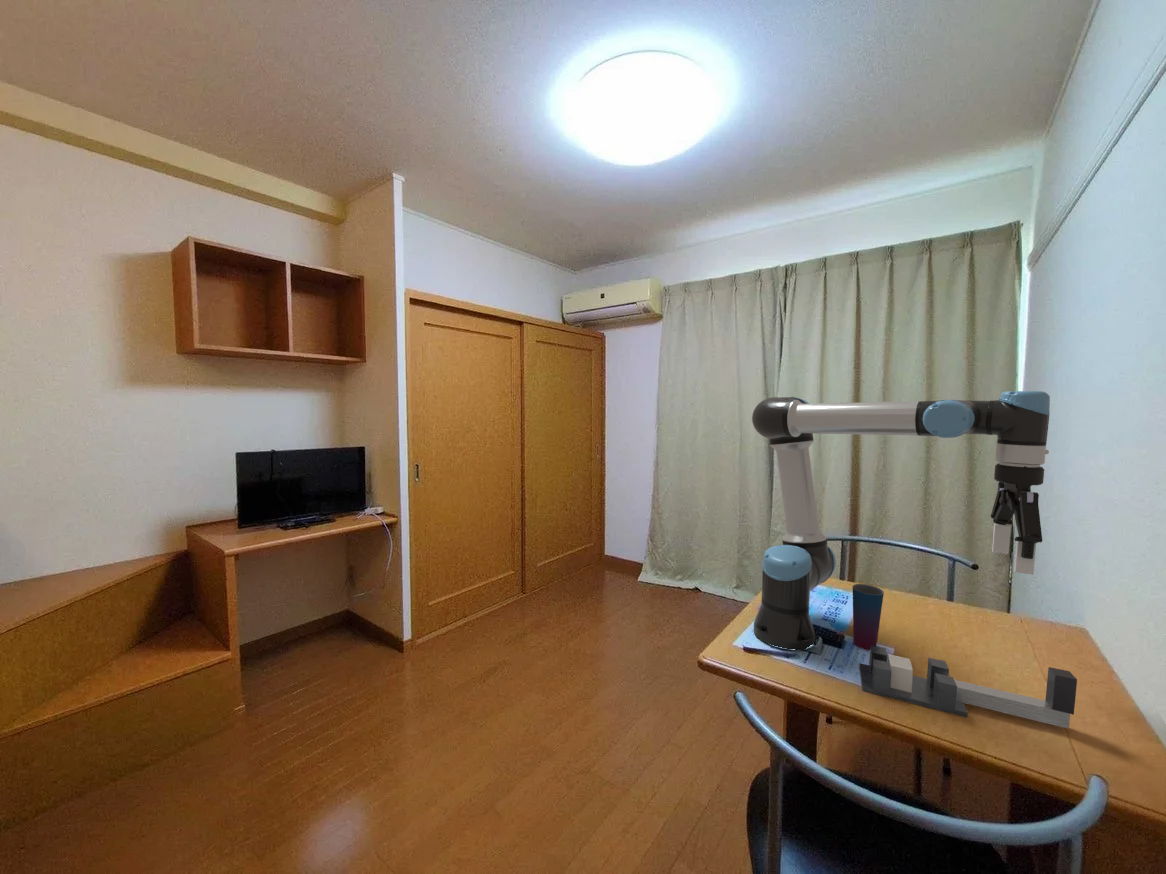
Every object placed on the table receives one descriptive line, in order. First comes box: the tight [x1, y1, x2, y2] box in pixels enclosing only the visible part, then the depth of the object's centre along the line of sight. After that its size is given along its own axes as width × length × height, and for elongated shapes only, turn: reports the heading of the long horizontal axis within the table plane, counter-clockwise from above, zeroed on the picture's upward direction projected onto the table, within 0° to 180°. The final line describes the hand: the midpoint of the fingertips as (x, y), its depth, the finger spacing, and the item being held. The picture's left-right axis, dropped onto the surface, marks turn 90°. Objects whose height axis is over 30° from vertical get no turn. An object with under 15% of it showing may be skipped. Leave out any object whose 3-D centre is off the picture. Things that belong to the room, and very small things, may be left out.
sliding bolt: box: [954, 666, 1078, 729], centre depth 92 cm, size 20×3×10 cm, turn 62°
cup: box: [852, 583, 885, 651], centre depth 117 cm, size 7×7×15 cm
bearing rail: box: [858, 645, 969, 718], centre depth 99 cm, size 18×10×6 cm, turn 62°
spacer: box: [887, 653, 914, 693], centre depth 100 cm, size 5×5×4 cm
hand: (1011, 562), depth 97 cm, fingers open, 13 cm apart
